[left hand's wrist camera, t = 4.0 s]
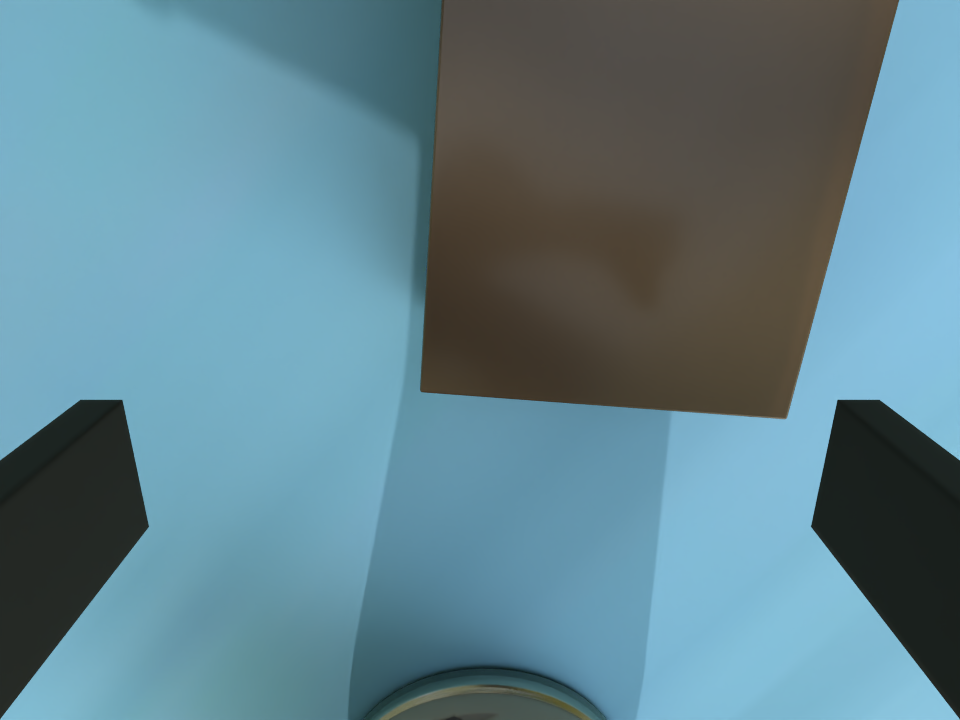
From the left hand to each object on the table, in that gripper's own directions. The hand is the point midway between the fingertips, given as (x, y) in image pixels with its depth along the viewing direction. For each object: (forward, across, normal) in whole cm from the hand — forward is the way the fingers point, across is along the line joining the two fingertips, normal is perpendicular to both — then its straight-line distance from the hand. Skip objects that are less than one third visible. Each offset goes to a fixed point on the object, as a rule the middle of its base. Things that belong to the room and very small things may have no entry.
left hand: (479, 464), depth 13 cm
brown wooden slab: (+16, -5, -8) cm, 18 cm away
